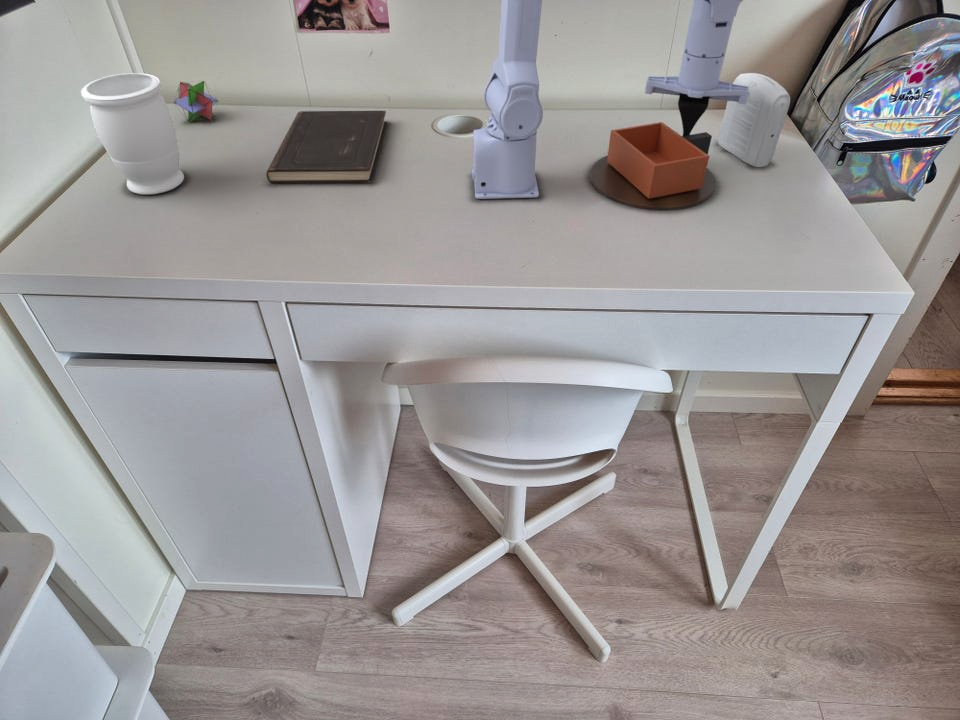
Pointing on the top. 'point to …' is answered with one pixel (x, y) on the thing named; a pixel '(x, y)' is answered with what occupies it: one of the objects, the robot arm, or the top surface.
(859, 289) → the top surface
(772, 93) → the photo printer
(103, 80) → the jar
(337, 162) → the hardcover book
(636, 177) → the bin
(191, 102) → the geometric puzzle
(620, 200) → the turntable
